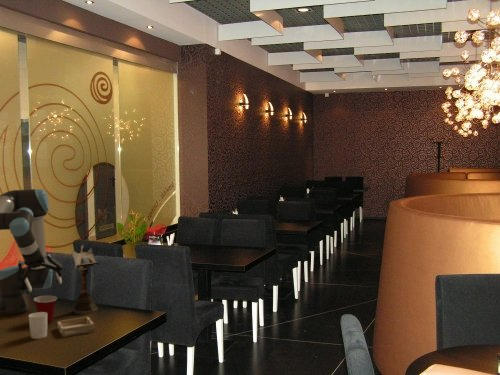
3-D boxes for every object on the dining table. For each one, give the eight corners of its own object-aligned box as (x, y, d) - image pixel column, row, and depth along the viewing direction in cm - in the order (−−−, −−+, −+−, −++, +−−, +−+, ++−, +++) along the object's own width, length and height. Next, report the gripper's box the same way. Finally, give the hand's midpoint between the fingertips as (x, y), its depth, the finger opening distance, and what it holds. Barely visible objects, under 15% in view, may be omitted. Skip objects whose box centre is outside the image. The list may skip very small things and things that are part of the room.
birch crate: (57, 328, 250) (57, 321, 250) (88, 323, 257) (87, 316, 257) (62, 337, 238) (62, 329, 238) (94, 331, 245) (94, 324, 244)
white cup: (29, 340, 235) (28, 318, 234) (29, 335, 242) (28, 313, 241) (48, 337, 238) (47, 315, 237) (48, 332, 245) (46, 311, 244)
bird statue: (105, 313, 272) (102, 245, 270) (78, 318, 266) (75, 248, 264) (97, 306, 287) (94, 241, 285) (72, 310, 281) (69, 243, 278)
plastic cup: (50, 325, 255) (49, 301, 254) (30, 324, 257) (28, 300, 256) (62, 318, 265) (61, 295, 265) (43, 318, 267) (41, 294, 267)
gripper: (-1, 263, 229) (17, 298, 241) (58, 247, 233) (73, 283, 244) (1, 252, 235) (18, 288, 247) (58, 237, 239) (73, 273, 251)
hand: (46, 285), depth 246 cm, fingers open, 13 cm apart
